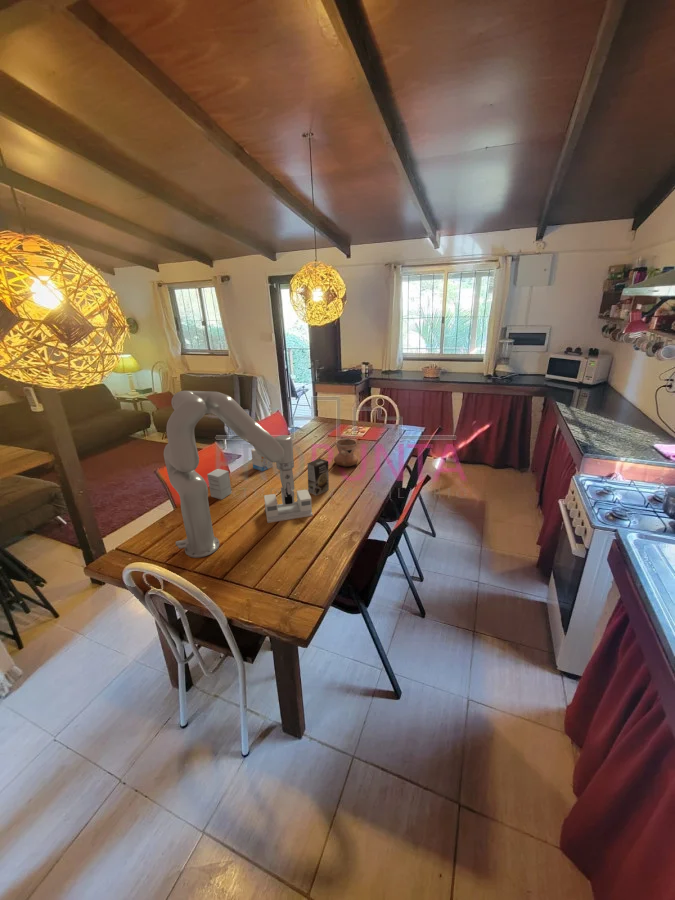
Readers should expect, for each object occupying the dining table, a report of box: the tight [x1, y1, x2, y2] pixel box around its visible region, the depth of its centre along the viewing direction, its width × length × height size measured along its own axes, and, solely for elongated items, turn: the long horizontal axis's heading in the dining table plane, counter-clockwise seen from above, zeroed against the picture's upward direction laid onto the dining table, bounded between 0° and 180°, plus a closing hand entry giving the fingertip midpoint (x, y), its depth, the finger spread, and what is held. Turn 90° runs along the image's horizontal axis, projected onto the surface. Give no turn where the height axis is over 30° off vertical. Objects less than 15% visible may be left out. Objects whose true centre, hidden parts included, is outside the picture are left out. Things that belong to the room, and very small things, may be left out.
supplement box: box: [206, 468, 232, 500], centre depth 171 cm, size 7×7×13 cm
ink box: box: [251, 448, 274, 472], centre depth 202 cm, size 9×8×13 cm
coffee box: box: [306, 458, 330, 496], centre depth 174 cm, size 9×6×16 cm
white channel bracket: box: [263, 488, 313, 524], centre depth 156 cm, size 20×12×8 cm, turn 106°
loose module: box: [280, 486, 295, 507], centre depth 155 cm, size 5×5×7 cm
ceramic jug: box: [333, 438, 359, 467], centre depth 206 cm, size 18×14×14 cm
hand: (287, 500), depth 155 cm, fingers closed on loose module, 5 cm apart
